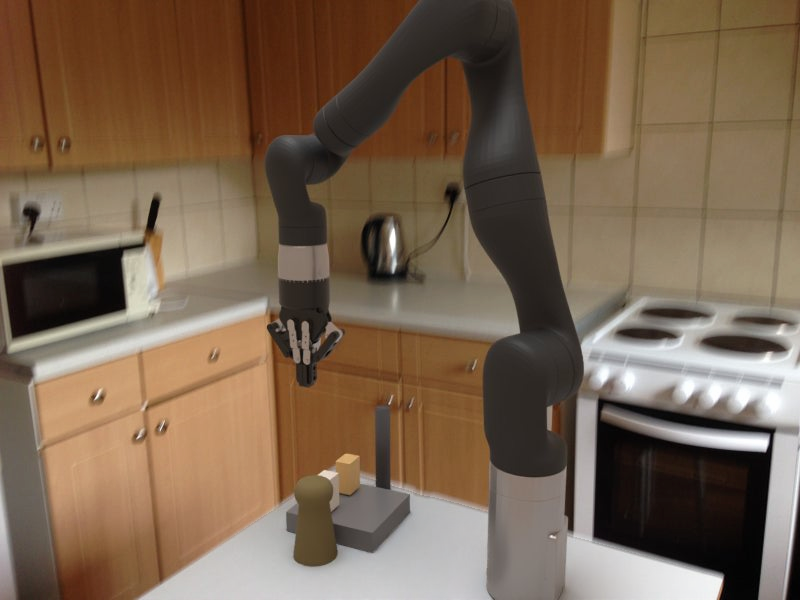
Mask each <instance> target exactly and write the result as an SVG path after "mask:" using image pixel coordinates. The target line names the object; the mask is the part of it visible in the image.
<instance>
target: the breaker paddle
mask: <svg viewBox="0 0 800 600" xmlns="http://www.w3.org/2000/svg"><path fill="white" fill-rule="evenodd" d="M360 460H361V459H360V455H356V454H352V453H345V454H343V455H342V456H340V457H339V458H338V459H337V460H335V472H336V473H339V493H343V494H347V495H351V494H352V493H353V492H354V491H355V490H357V489H358V488H359V487H360V484H361V469H360V468H361V465H360V464H361V463H360V462H361V461H360Z"/></svg>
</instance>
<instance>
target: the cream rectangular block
mask: <svg viewBox="0 0 800 600" xmlns="http://www.w3.org/2000/svg"><path fill="white" fill-rule="evenodd" d="M317 475H320V476H323V477H326V478H328V479H329V480H330V482H331V483H332V486H333V496H332V499H331V501H330V502H329V503H330V509H331V512H332V511H333V510H334V509H335V508H336V507H337V506H338V505H339V473H336V471H331V470H326V469H323V470H322V471H321V472H319V473H318V474H317Z"/></svg>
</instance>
